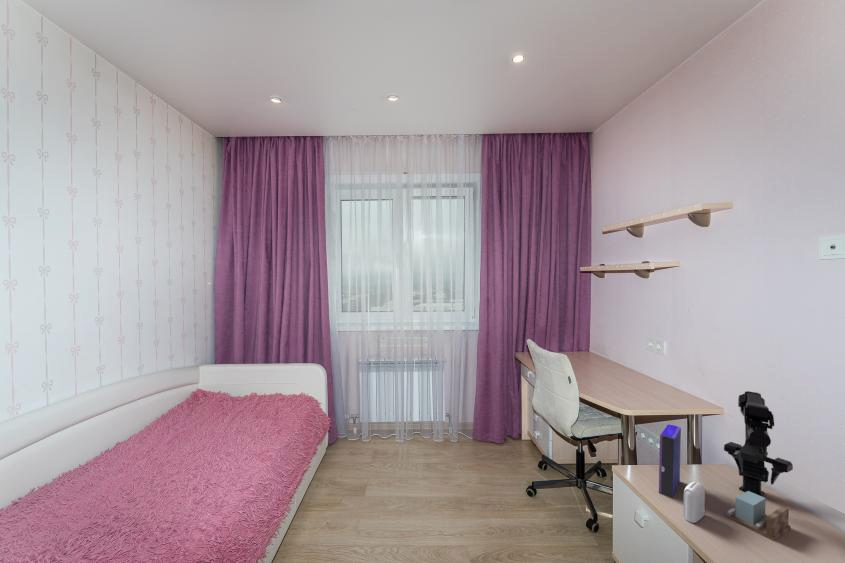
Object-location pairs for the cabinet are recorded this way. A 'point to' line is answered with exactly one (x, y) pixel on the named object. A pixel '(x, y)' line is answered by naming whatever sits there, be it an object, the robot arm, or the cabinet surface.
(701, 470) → the cabinet surface
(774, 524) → the cleat stand
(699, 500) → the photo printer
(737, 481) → the cabinet surface
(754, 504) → the light blue block
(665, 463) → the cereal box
